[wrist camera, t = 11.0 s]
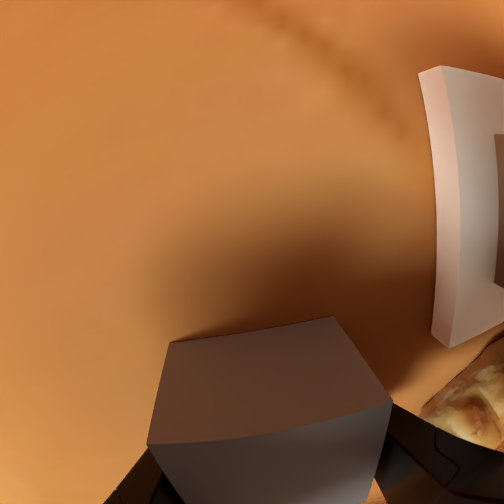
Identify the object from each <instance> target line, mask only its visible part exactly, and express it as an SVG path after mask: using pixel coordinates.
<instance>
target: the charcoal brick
mask: <svg viewBox="0 0 504 504" xmlns="http://www.w3.org/2000/svg"><path fill="white" fill-rule="evenodd" d="M392 404H393V400H392V398H391V397H390V395H389V394H388V392H387V391H386V389H385V388H384V387H383V385H382V384H381V382H380V381H379V379H378V378H377V376H376V375H375V374H374V372H373V371H372V369H371V368H370V366H369V365H368V364H367V362H366V361H365V359H364V358H363V357H362V355H361V354H360V352H359V351H358V350H357V348H356V347H355V345H354V344H353V343H352V341H351V340H350V338H349V337H348V336H347V334H346V333H345V331H344V330H343V329H342V327H341V326H340V324H339V323H338V322H337V320H336V319H335V318H334V316H330V317H325V318H320V319H315V320H311V321H306V322H301V323H295V324H290V325H285V326H279V327H274V328H268V329H263V330H257V331H251V332H245V333H238V334H232V335H225V336H219V337H212V338H205V339H197V340H189V341H181V342H173V343H169V347H168V351H167V355H166V359H165V363H164V367H163V371H162V375H161V379H160V384H159V388H158V392H157V397H156V401H155V405H154V410H153V415H152V419H151V424H150V429H149V433H148V438H147V443H146V444H147V446H148V448H149V450H150V451H151V453H152V455H153V456H154V458H155V459H156V461H157V463H158V464H159V466H160V467H161V469H162V470H163V472H164V474H165V475H166V477H167V478H168V480H169V481H170V483H171V484H172V486H173V487H174V488H175V490H176V491H177V493H178V494H179V496H180V497H181V498H182V500H183V501H184V502H185V504H360V503H363V502H366V499H367V496H368V494H369V491H370V488H371V485H372V481H373V478H374V475H375V472H376V469H377V465H378V462H379V458H380V455H381V451H382V447H383V443H384V440H385V436H386V431H387V427H388V423H389V418H390V414H391V409H392Z"/></svg>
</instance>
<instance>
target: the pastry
mask: <svg viewBox="0 0 504 504" xmlns="http://www.w3.org/2000/svg"><path fill="white" fill-rule="evenodd" d="M416 416H418V417H420V418H422V419H423V420H425V421H427V422H429V423H431V424H433V425H435V426H436V427H439V428H441V429H443V430H444V431H446V432H449V433H451V434H453V435H455V436H457V437H459V438H462V439H464V440H467V441H470V442H472V443H475V444H478V445H481V446H484V447H487V448H490V449H493V450H495V449H496V448H497V447H498V446H499V445H500V444H501V443H502V442H503V441H504V336H503V337H502V338H501V339H499V340H498V341H495V342H493V343H492V344H490V345H489V346H487V347H486V348H485V349H484V350H483V352H482V354H481V355H480V356H479V357H478V358H477V359H476V360H474V361H473V362H472V363H471V364H470V365H469V366H468V367H467V368H466V369H465V370H464V371H462V372H461V373H460V374H459V375H458V376H457V377H455V378H454V379H453V380H452V381H451V382H450V383H449V384H447V385H446V386H445V387H444V388H443V389H442V390H441V391H440V392H439V393H437V394H436V395H435V396H434V397H433V398H432V399H431V400H430V401H429V402H428V403H427V404H426V405H425V406H424V407H423V408H422V409H421V410H420V411H419V413H418V414H417V415H416Z"/></svg>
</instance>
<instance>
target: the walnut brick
mask: <svg viewBox="0 0 504 504" xmlns="http://www.w3.org/2000/svg"><path fill="white" fill-rule="evenodd" d="M494 139H495V148H496V159H497V172H498V199H499V216H498V243H497V257H496V267H495V277H494V283H495V284H496V285H498V286H500V287H502V288H504V134H494Z"/></svg>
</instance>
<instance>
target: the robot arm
mask: <svg viewBox="0 0 504 504" xmlns="http://www.w3.org/2000/svg"><path fill="white" fill-rule="evenodd" d="M374 478H375V480H376V482H377V484H378V486H379V488H380V489H381V491H382V493H383V495H384V497H385V499H386V501H387V503H388V504H504V452H500V451H497V450H493V449H490V448H487V447H484V446H481V445H478V444H475V443H472V442H470V441H467V440H464V439H462V438H459V437H457V436H455V435H453V434H451V433H449V432H446V431H444V430H443V429H441V428H439V427H436V426H435V425H433V424H431V423H429V422H427V421H425V420H423V419H422V418H420V417H418V416H416V415H414V414H412V413H410V412H409V411H407V410H405V409H403V408H401V407H400V406H398V405H396V404H394V403H393V404H392V409H391V414H390V418H389V423H388V427H387V431H386V436H385V440H384V443H383V447H382V451H381V455H380V458H379V462H378V465H377V469H376V472H375V475H374ZM103 504H185V502H184V501H183V500H182V498H181V497H180V496H179V494H178V493H177V491H176V490H175V488H174V487H173V486H172V484H171V483H170V481H169V480H168V478H167V477H166V475H165V474H164V472H163V470H162V469H161V467H160V466H159V464H158V463H157V461H156V459H155V458H154V456H153V455H152V453H151V451H150V450H149V448H147V450H146V451H145V452H144V454H143V455H142V456H141V457H140V459H139V460H138V461H137V462H136V464H135V465H134V466H133V468H132V469H131V470H130V471H129V473H128V474H127V475H126V476H125V478H124V479H123V480H122V481H121V483H120V484H119V485H118V486H117V488H116V490H114V491H113V492H112V494H111V495H110V496H109V497H108V498H107V500H106V501H105V502H104V503H103Z"/></svg>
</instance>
